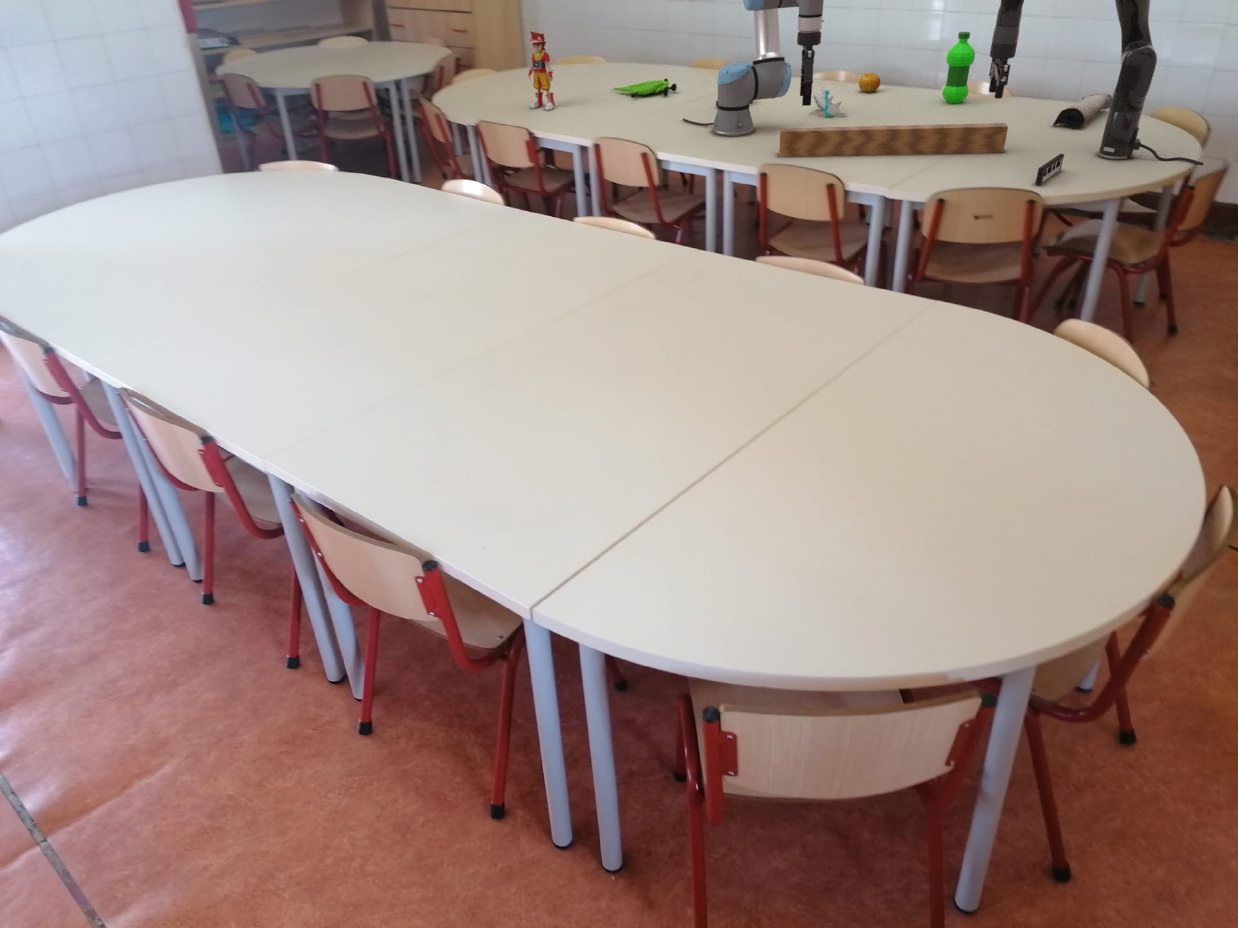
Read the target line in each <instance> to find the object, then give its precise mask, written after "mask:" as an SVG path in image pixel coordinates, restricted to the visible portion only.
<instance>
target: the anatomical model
mask: <svg viewBox="0 0 1238 928" xmlns="http://www.w3.org/2000/svg"><path fill="white" fill-rule="evenodd" d="M829 95H830V91H829V90H828V89H827V87H824V86H823V87H822V88H821V90H819V92H815V93H814V94H813V99H814V101H815V104H816V107H817V108H818V109H820V110H822V111H823V112H824V115H825V116H826V117H827V118H833V117H835V116H845V115H846V111H845V110H844V111H843V110H841V109H840V106H841V104H843V102H842V101H841V100H839V101H837V102H835V103H832V100H833V99H834V97H835V95H834V94H833V95H831V96H829Z"/></svg>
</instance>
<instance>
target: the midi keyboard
mask: <svg viewBox="0 0 1238 928" xmlns="http://www.w3.org/2000/svg"><path fill="white" fill-rule="evenodd" d="M1064 157H1065V153H1059V154H1058V155H1056V156H1055V157H1052V159H1051V160H1049V161H1047V162H1045V164H1042V165H1041V166H1039V167H1038V169H1037V175H1036V179H1035V186H1040V185H1042V183H1044V182H1045V181H1047V180H1048V179H1049V178H1051V177H1052V176H1054V175H1055V174H1056V173H1058V172H1060V171H1061V170H1062V165H1063V161H1064Z"/></svg>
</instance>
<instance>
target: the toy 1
mask: <svg viewBox="0 0 1238 928" xmlns="http://www.w3.org/2000/svg"><path fill="white" fill-rule="evenodd" d="M529 33H530V35H531V36H528V37H527V38H528V39H529V40H528V41H527V43H529V44H530V43H531V44H532V48H533V50H534V51H533V52H532V55H531V58H530V59H531V63H530V66H528V74H527V75H528V76H527V77H528V79H529V80H531V75H532V74H533V84H532V85H533V86H532V87H533V88H534V89H535V90H536V92H534V95H535V97H536V100H535V101H533V102H531V105H530V108H531V109H535V108H538V107H542V106H544V101H543V100H544V99H543V95H544V92H546V94H545V97H546V99H547V103H546V104H545V106H544V110H546V111H549V110H553V109H554V107H555V106H556V105H555V99H554V92H551V91H550V90H551V86H552V84H551V82H552V81H553V80H554V77H553V73H554V71H555V70H554V69H552V68H551V63H550V61H551V59H550V58H551V57H550V54H549V53H548V52H547V50H546V48H545V46H546V44H547V41H545V35H544V33H543V32H542V33H539V32H535V31H529Z"/></svg>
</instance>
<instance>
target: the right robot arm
mask: <svg viewBox="0 0 1238 928" xmlns="http://www.w3.org/2000/svg"><path fill="white" fill-rule="evenodd" d="M1024 3H1025V0H1000V4H999V8H998V10H997V15H996V19H995V20H996V21H995V27H994V30H993V34H992V40H991V45H990V51H989V57H990V58H991V62H990V68H989V73H988V76H989V80H990V81H989V87H988V92H989V93H994V98H995V99H996V100H997V99H1002V98H1003V96H1004V90H1005V87H1006V86H1007V85H1008V83H1009V76H1010V71H1011V70H1010V69H1011V64H1009V61H1008V60H1009V59H1014V57H1016V52H1017V46H1018V41H1019V38H1020V37H1019V36H1020V25H1021V22H1022V21H1021V20H1022V15H1023V6H1024ZM1114 3H1115V9H1116V14H1117V18H1118V22H1119V26H1120V37H1121V48H1120V49H1121V51H1120V52H1121V53H1120V71H1119V75H1118V79H1117V81H1116V82H1117V83H1116V86H1115V88H1114V90H1113V93H1112V101H1111V105H1110V108H1108V109H1109V110H1108V114H1107V117H1106V121H1105V126H1104V128H1103V129H1104V130H1103V134H1102V137H1101V142H1100V145H1099V150H1098V152H1097V155H1098V156H1099V157H1100V158H1103V159H1108V160H1126V159H1129V160H1131V159H1132V156H1133V152H1134V151H1140V148H1142V149H1145V150H1147V151H1149V152H1150V153H1152V155H1153V156H1154V158H1155V159H1157V160H1158V161H1162V162H1172V161H1184V162H1189V163H1192V164H1195V165H1198V166H1203V165H1204V162H1201V161H1198V160H1195V159H1192V158H1188V157H1181V156H1177V157H1176V156H1175V157H1161V156H1159V154H1158V153H1157V152H1156V150H1155V149H1154V148H1151V147H1149V146H1147V145H1146V144H1143V143H1142V142H1141V140H1140V138H1137V137H1138V134H1139V131H1140V126H1139V124H1140V120H1141V117H1142V113H1143V110H1144V106H1145V103H1146V99H1147V96H1148V93H1149V91H1150V88H1151V84H1152V81H1153V78H1154V75H1155V71H1156V66H1157V63H1158V54H1157V52H1156V50H1155V48H1154V45H1153V42H1152V37H1151V32H1150V24H1149V23H1150V22H1149V21H1150V20H1149V19H1150V18H1149V17H1150V16H1149V15H1150V9H1151V0H1114Z"/></svg>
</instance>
